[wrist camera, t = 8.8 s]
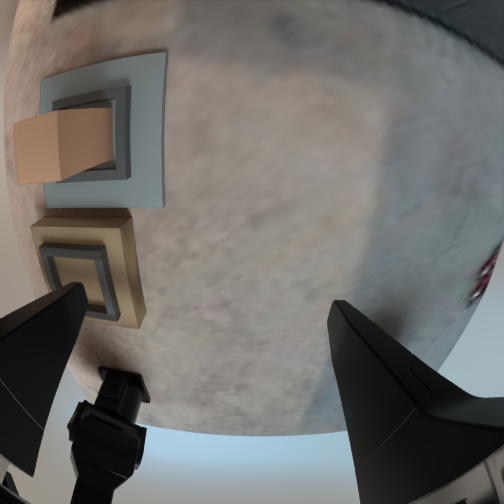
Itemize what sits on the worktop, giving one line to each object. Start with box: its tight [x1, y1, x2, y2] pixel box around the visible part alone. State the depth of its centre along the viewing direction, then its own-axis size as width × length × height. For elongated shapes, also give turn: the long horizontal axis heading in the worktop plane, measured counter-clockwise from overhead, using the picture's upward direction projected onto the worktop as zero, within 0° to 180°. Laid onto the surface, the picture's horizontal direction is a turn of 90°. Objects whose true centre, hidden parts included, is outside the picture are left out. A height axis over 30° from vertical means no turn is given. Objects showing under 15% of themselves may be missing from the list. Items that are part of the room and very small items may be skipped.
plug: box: [14, 108, 114, 186], centre depth 14 cm, size 4×4×7 cm
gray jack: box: [39, 52, 168, 208], centre depth 17 cm, size 12×12×2 cm
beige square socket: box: [30, 216, 146, 329], centre depth 22 cm, size 10×10×4 cm
